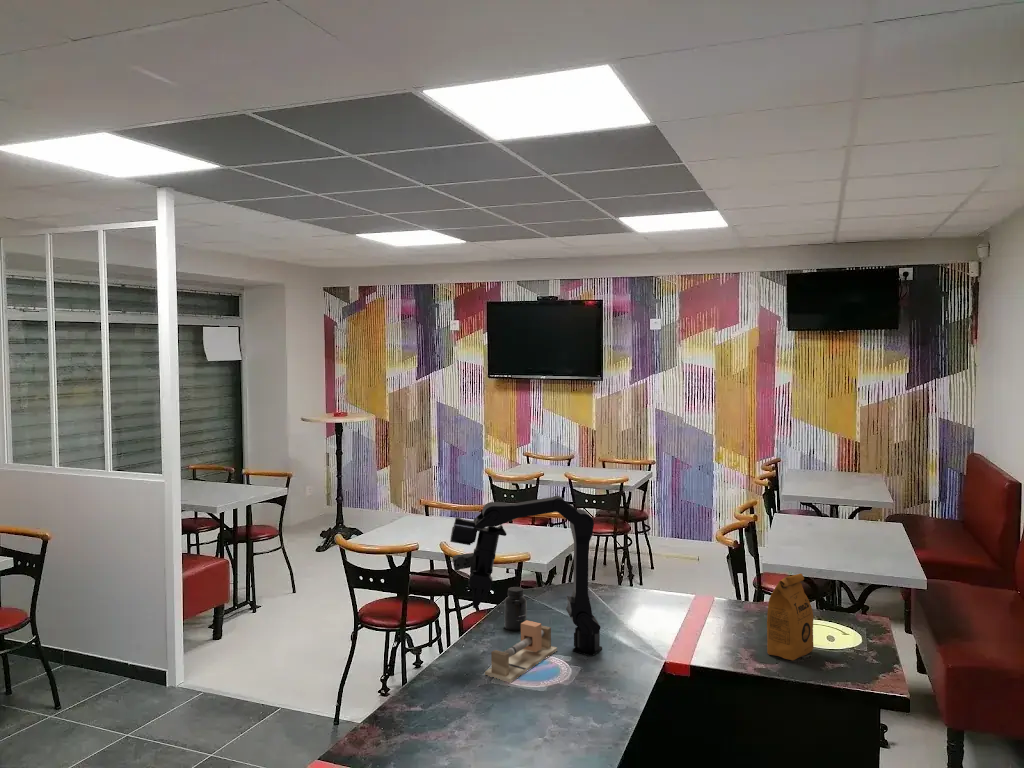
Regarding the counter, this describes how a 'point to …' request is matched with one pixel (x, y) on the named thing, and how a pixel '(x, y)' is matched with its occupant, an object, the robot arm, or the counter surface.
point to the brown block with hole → (532, 634)
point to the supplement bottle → (515, 609)
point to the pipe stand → (519, 657)
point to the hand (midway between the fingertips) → (475, 602)
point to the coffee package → (789, 620)
